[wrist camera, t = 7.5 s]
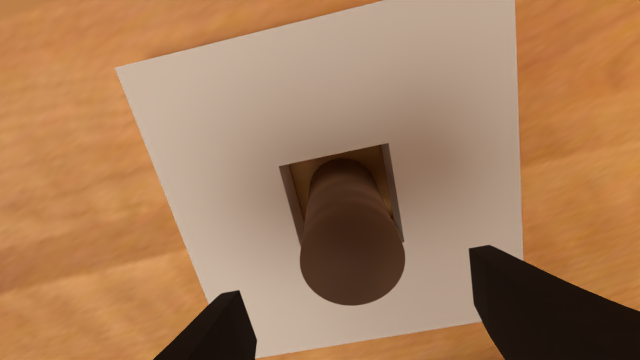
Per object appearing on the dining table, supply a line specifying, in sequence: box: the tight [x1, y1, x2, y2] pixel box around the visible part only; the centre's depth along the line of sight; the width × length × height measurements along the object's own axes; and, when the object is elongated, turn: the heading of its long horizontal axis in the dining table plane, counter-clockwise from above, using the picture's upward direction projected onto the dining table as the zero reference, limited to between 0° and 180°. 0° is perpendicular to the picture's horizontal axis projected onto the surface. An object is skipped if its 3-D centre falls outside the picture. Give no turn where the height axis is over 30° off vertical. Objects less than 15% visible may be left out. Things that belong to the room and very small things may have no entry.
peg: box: [300, 158, 405, 306], centre depth 16 cm, size 4×4×8 cm
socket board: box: [115, 0, 523, 358], centre depth 18 cm, size 18×18×3 cm
